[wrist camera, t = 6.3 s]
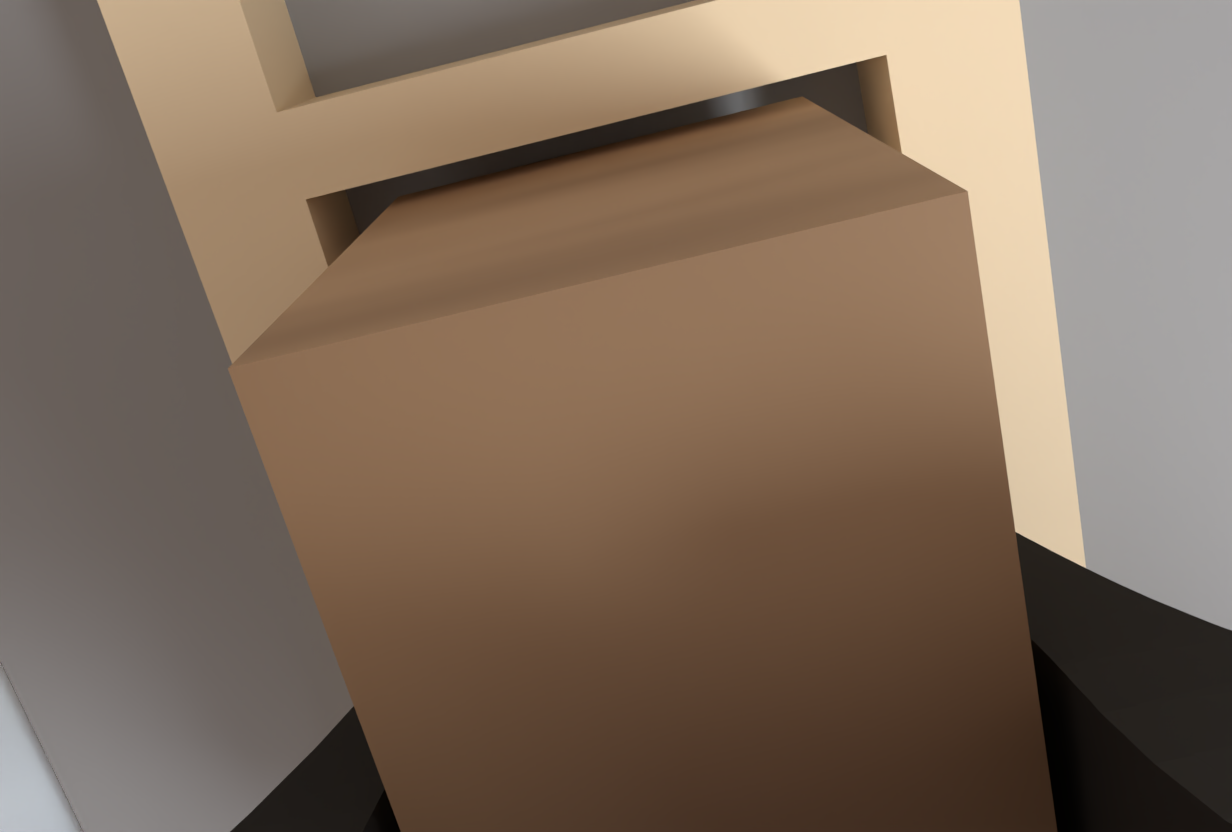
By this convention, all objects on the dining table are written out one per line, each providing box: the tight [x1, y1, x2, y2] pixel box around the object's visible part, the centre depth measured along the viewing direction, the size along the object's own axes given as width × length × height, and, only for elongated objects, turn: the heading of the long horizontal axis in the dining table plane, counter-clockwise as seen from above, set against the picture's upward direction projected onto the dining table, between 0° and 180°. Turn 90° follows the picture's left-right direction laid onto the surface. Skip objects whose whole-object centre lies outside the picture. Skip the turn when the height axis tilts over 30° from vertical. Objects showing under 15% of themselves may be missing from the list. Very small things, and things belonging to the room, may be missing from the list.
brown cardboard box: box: [228, 96, 1057, 832], centre depth 10 cm, size 9×4×6 cm, turn 14°
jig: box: [0, 0, 1232, 832], centre depth 12 cm, size 19×17×2 cm
